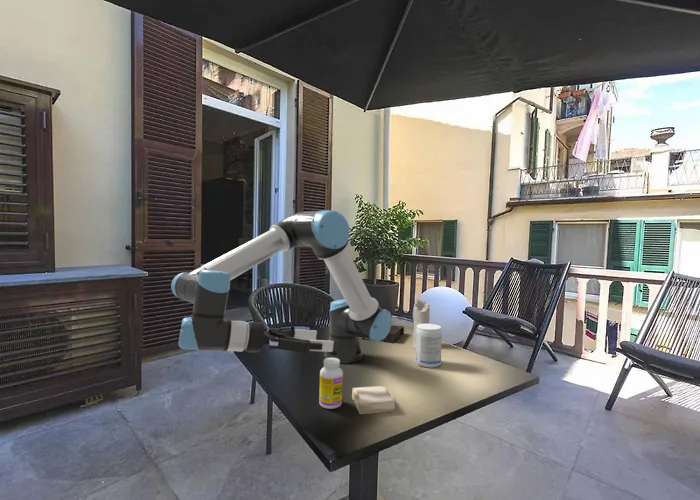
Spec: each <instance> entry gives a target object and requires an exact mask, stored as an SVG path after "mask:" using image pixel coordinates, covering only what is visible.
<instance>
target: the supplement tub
mask: <svg viewBox="0 0 700 500" xmlns="http://www.w3.org/2000/svg"><path fill="white" fill-rule="evenodd" d="M442 334H443V332H442V326H440V325H439V324H434V323H429V324H418V325H417V329H416V349H415V363H416V364H417V365H418V366H421V367H425V368H430V369H432V368H438V367H439V366H441V364H442V336H443V335H442Z"/></svg>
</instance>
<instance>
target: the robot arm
mask: <svg viewBox="0 0 700 500" xmlns="http://www.w3.org/2000/svg"><path fill="white" fill-rule="evenodd" d="M349 239H350V225H349V223H348V220H347V218H346V217H345V216H344V215H343V214H341V213H340V212H338V211H335V210H330V209H322V210H310V211H309V210H308V211H307V210H306V211H299V212H296V213H294V214H291V215H289V216H288V217H285V218H284V219H282V220H280V221H278V222H276V223H274V224H272V225H271V226H270V227H269V230H267V231H266V232H264V233H262V234H260V235H258V236H257V237H255V238H253V239H251V240H249V241H246V242H245V243H244V244H242V245H240V246H238V247H236V248H234V249H232V250H230V251H228V252H227V253H224V254H223V255H221V256H219V257H217V258H215V259H213V260H212V261H210V262H207V263H205V264H203V265H202V266H199V267H198V268H195V269H194V270H192V271H186V272H181V273H178V274H177V275H175V276H174V278H173V279H172V281H171V283H170V284H171V285H170V287H171V288H170V289H171V292H172V294H173V295H174V296H175V297H176V298H178V299H179V300H181V301H184V302H189V303H191V304H193V307H192V313H191V316H189V317H184V318H182V320H181V327H180V330H179V331H180V332H179V339H178V347H179V348H180V349H181V350H190V351H191V350H192V351H197V352H200V351H201V352H202V351H204V352H206V351H211V352H215V351H216V352H218V351H219V352H220V351H221V352H229V353H230V354H232V355H233V354H234V353H235V352H243V351H245V352H246V353H260V352H261V351H262V348H263V346H264V345H267V346H268V349H271V350H272V349H273V350H283V351H289V352H297V353H305V355H310V352H324V358H325V357H326V358H337V359H339V360H340V364H353V363H357V362H359V361H361V360H362V359H363V350H362V346H361V343H360V339H359V338H358V336H360V337H364V338H367V339H370V340H369V341H373V340H374V341H373V342H381V340H383V339H384V338H385V337H386V336H387V335H388V333H389V331H390V328H391V325H392V322H393V321H392V320H393V319H392V318H393V317H392V314H391V312H390V311H389V310H387V309H385V308H384V309H382V308H381V305H380V304H379V302H378V300H377V299H376V298H374V297H373V296H371V294H370V293H369V292H370V291H368V288H367V286H366V284H365V282H364V281H363V278H362V277H361V274H360V272H359V271H358V268H357V267H356V264H355V262H354V260H353V258H352V256H351V254H350V253H349V249H348V245H349ZM299 247H307V248H309V247H310V249H312V251H313V253H314V255H315V257H316V258H317V259H319V260H323V261H324V263H325V265H326V267H327V269H328V271H329V273H330V275H331V277H332V278H333V280H334V282H335V283H336V286H337V287H338V290H339V291H340V292H341V295H342V297H343V299H336V300H333V301H332V302H331V303H330V305H329V306H330V308H329V338H328V339H327V340H323V339H317V334H318V331H317V330H315V329H300V328H299V329H297V328H295V326H290V327H269V328H268V327H265V324H264V323H263V322H258V321H250V322H247V321H245V320H232V319H230V320H229V319H228V320H227V319H225V317H226V310H227V306H228V301H229V300H228V299H229V294H230V289H231V281H232V280H234V279H235V278H237V277H239V276H241V275H242V274H243V273H245V272H247V271H249V270H251V269H252V268H254V267H256V266H258V265H259V264H261V263H263V262H264V261H267V260H269V258H271V257H273V256H275V255H276V254H278V253H280V252H283V253H285V252H287V251H290V250H291V249H294V248H299ZM367 339H366V340H367ZM326 358H325V359H326Z"/></svg>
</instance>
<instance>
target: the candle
mask: <svg viewBox="0 0 700 500" xmlns="http://www.w3.org/2000/svg"><path fill="white" fill-rule="evenodd" d="M413 317H414V318H413V319H414V321H413V334H412V345H413V348H414V349H415V350H416V329H417V325H418V324H430V304H429V303H427V301H425V300H420V299H417V300H416V301H415V303H414V305H413Z"/></svg>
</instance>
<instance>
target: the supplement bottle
mask: <svg viewBox="0 0 700 500" xmlns="http://www.w3.org/2000/svg"><path fill="white" fill-rule="evenodd" d="M340 365H341V363H340V360H339V359H337V358H324V359H323V367H322V368H321V369H320V371H319V397H318V399H319V400H318V403H319V405H320V406H321V407H322V408H324V409H329V410H332V409H338V408H339V407H341V406H342V403H343V382H344V379H343V378H344V371H343V369H342V368H340Z"/></svg>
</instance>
